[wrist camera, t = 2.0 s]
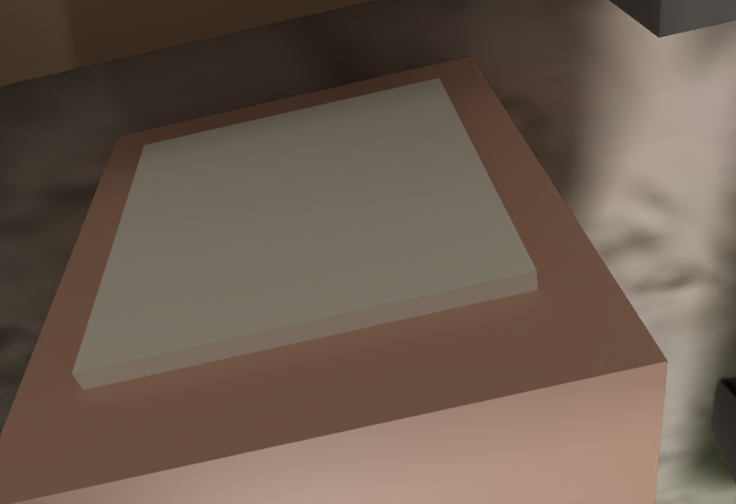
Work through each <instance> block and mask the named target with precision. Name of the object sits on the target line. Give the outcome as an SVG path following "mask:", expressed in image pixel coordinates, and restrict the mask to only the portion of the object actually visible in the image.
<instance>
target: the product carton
mask: <svg viewBox="0 0 736 504" xmlns="http://www.w3.org/2000/svg"><path fill="white" fill-rule="evenodd" d="M667 362H668V361H667V360H666V358H665V356H664V355H663V353H662V352H661V350H660V349H659V347H658V346H657V344H656V343H655V341H654V339H653V338H652V336H651V335H650V333H649V332H648V330H647V329H646V327H645V325H644V324H643V322H642V321H641V319H640V318H639V316H638V315H637V313H636V311H635V310H634V308H633V307H632V305H631V304H630V302H629V301H628V299H627V298H626V296H625V294H624V293H623V291H622V290H621V288H620V287H619V285H618V284H617V282H616V280H615V279H614V277H613V276H612V274H611V273H610V271H609V270H608V268H607V266H606V265H605V263H604V262H603V260H602V259H601V257H600V256H599V254H598V253H597V251H596V249H595V248H594V246H593V245H592V243H591V242H590V240H589V239H588V237H587V235H586V234H585V232H584V231H583V229H582V228H581V226H580V225H579V223H578V222H577V220H576V218H575V217H574V215H573V214H572V212H571V211H570V209H569V208H568V206H567V204H566V203H565V201H564V200H563V198H562V197H561V195H560V194H559V192H558V190H557V189H556V187H555V186H554V184H553V183H552V181H551V180H550V178H549V177H548V175H547V173H546V172H545V170H544V169H543V167H542V166H541V164H540V163H539V161H538V159H537V158H536V156H535V155H534V153H533V152H532V150H531V149H530V147H529V145H528V144H527V142H526V141H525V139H524V138H523V136H522V135H521V133H520V132H519V130H518V128H517V127H516V125H515V124H514V122H513V121H512V119H511V118H510V116H509V114H508V113H507V111H506V110H505V108H504V107H503V105H502V104H501V102H500V100H499V99H498V97H497V96H496V94H495V93H494V91H493V90H492V88H491V87H490V85H489V83H488V82H487V80H486V79H485V77H484V76H483V74H482V73H481V71H480V69H479V68H478V66H477V65H476V63H475V62H474V60H473V59H472V57H471V56H469V57H464V58H460V59H456V60H451V61H447V62H442V63H438V64H434V65H429V66H425V67H420V68H416V69H412V70H407V71H403V72H399V73H394V74H390V75H385V76H381V77H377V78H372V79H368V80H363V81H359V82H355V83H350V84H346V85H341V86H337V87H333V88H328V89H324V90H319V91H315V92H311V93H306V94H302V95H298V96H293V97H289V98H284V99H280V100H276V101H271V102H267V103H262V104H258V105H254V106H249V107H245V108H240V109H236V110H232V111H227V112H223V113H219V114H214V115H210V116H205V117H201V118H197V119H192V120H188V121H183V122H179V123H175V124H170V125H166V126H161V127H157V128H153V129H148V130H144V131H139V132H135V133H131V134H126V135H122V136H118V137H117V139H116V141H115V144H114V146H113V149H112V151H111V154H110V157H109V159H108V162H107V164H106V167H105V169H104V172H103V174H102V177H101V180H100V182H99V185H98V187H97V190H96V192H95V195H94V197H93V200H92V202H91V205H90V208H89V210H88V213H87V215H86V218H85V220H84V223H83V225H82V228H81V231H80V233H79V236H78V238H77V241H76V243H75V246H74V248H73V251H72V254H71V256H70V259H69V261H68V264H67V266H66V269H65V271H64V274H63V277H62V279H61V282H60V284H59V287H58V289H57V292H56V294H55V297H54V299H53V302H52V305H51V307H50V310H49V312H48V315H47V317H46V320H45V322H44V325H43V328H42V330H41V333H40V335H39V338H38V340H37V343H36V345H35V348H34V351H33V353H32V356H31V358H30V361H29V363H28V366H27V368H26V371H25V374H24V376H23V379H22V381H21V384H20V386H19V389H18V391H17V394H16V396H15V399H14V402H13V404H12V407H11V409H10V412H9V414H8V417H7V419H6V422H5V425H4V427H3V430H2V432H1V435H0V504H655V493H656V482H657V471H658V460H659V449H660V438H661V427H662V416H663V405H664V394H665V383H666V373H667Z"/></svg>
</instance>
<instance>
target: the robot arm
mask: <svg viewBox="0 0 736 504" xmlns="http://www.w3.org/2000/svg"><path fill="white" fill-rule="evenodd" d="M711 428H712V432H713V435H714V438H715V441H716V443H717V445H718V447H719V449H720V451H721V453H722V456H723V458H724V460H725V462H726V464H727V466H728V469H729V471H730V473H731V475H732V477H733V479H734V482H735V484H736V374H734V375H729V376H724V377H722V378H720V379H719V380H718V382H717V384H716V388H715V394H714V401H713V407H712V414H711Z"/></svg>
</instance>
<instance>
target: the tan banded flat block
mask: <svg viewBox="0 0 736 504" xmlns="http://www.w3.org/2000/svg"><path fill="white" fill-rule="evenodd" d="M370 1H375V0H0V86H4V85H8V84H12V83H17V82H21V81H26V80H30V79H34V78H39V77H43V76H47V75H52V74H56V73H60V72H65V71H69V70H74V69H78V68H82V67H87V66H91V65H95V64H100V63H104V62H108V61H113V60H117V59H122V58H126V57H130V56H135V55H139V54H143V53H148V52H152V51H156V50H161V49H165V48H169V47H174V46H178V45H183V44H187V43H191V42H196V41H200V40H204V39H209V38H213V37H217V36H222V35H226V34H231V33H235V32H239V31H244V30H248V29H252V28H257V27H261V26H265V25H270V24H274V23H279V22H283V21H287V20H292V19H296V18H300V17H305V16H309V15H313V14H318V13H322V12H327V11H331V10H335V9H340V8H344V7H348V6H353V5H357V4H361V3H366V2H370ZM610 1H611V2H612V3H614V4H615V5H616V6H618V7H619V8H620V9H622V10H623V11H624V12H626V13H627V14H628V15H630V16H631V17H632V18H634V19H635V20H636V21H638V22H639V23H640V24H642V25H643V26H644V27H645V28H647V29H648V30H649V31H651V32H652V33H653V34H655V35H656V36H657V37H663V36H668V35H672V34H677V33H681V32H686V31H690V30H694V29H699V28H703V27H708V26H712V25H717V24H721V23H725V22H730V21H734V20H736V0H610Z"/></svg>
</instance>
